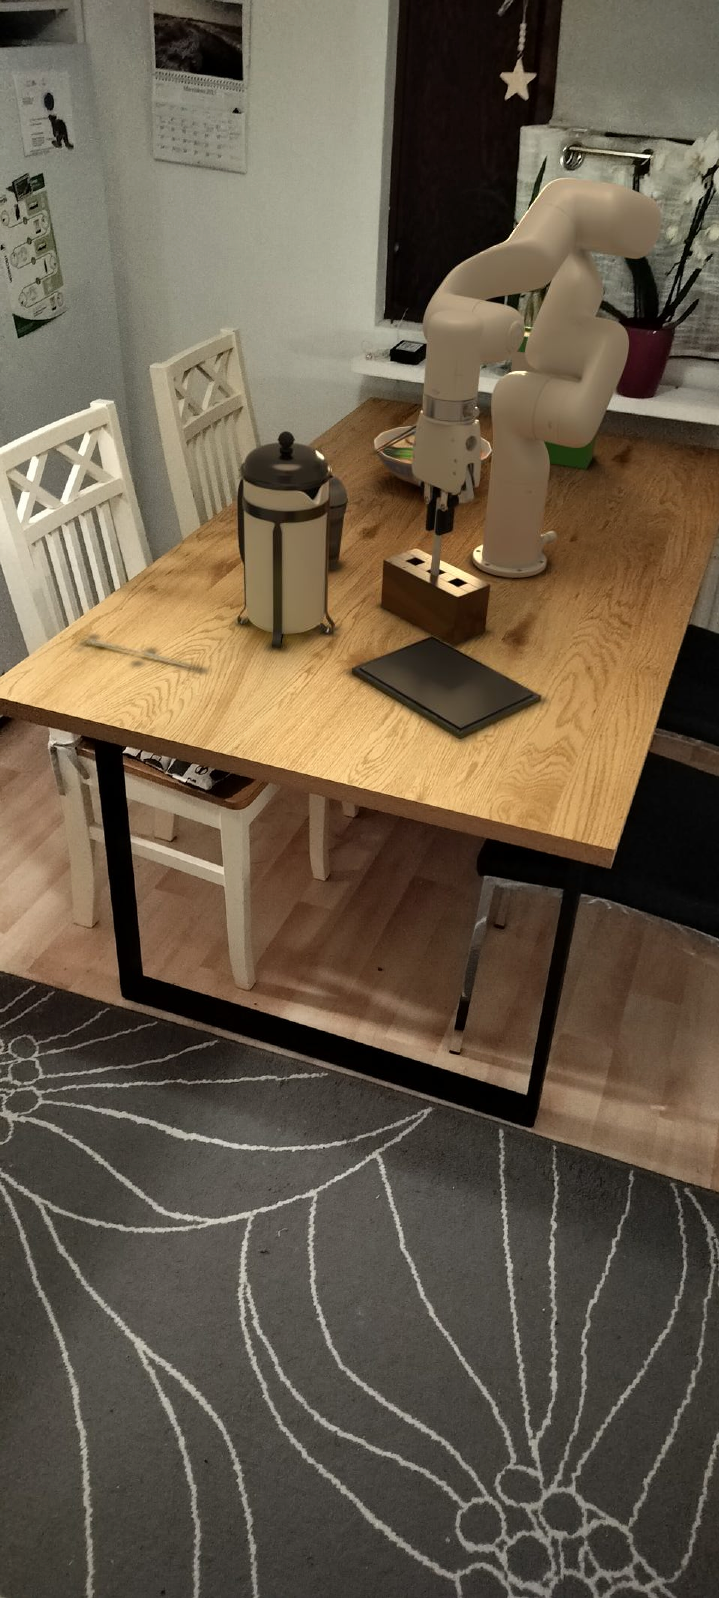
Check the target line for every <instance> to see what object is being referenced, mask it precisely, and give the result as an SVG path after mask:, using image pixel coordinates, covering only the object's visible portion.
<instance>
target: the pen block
mask: <svg viewBox="0 0 719 1598" xmlns="http://www.w3.org/2000/svg"><path fill="white" fill-rule="evenodd" d="M382 561H383V562H382V580H381V599H380V607H381V608H383V609H385V610H387V611H389V612H391V613H392V614H394V615H396V616H398V617H400V618H402V619H404V620H405V621H407V622H409V623H411V624H413V625H415V626H416V627H418V628H420V629H422V630H424V631H425V632H427V633H430V634H431V635H433V636H435V637H436V638H437V639H439V640H440V639H441V641H444V642H445V643H447V644H448V645H449V644H450V646H455V645H458V644H461V643H462V642H464V641H468V640H470V639H472V638H475V637H477V636H480V635H482V634H484V633H486V630H487V620H488V610H489V602H490V595H491V593H490V592H491V584H490V583H488V582H486V581H485V580H482V579H480V578H478V577H476V576H474V575H472V574H470V573H468V572H466V571H464V570H462V569H460V568H457V567H455V566H453V565H451V564H450V563H447V562H445V561H443V560H441V559H440V568H439V575H438V576H434V575H432V574H430V573H431V561H432V554H430V553H426V552H425V551H423V550H420V549H418V548H413V549H410V550H407V551H404V552H401V553H399V554H395V555H393V556H389V557H386V558H384V559H383V560H382Z"/></svg>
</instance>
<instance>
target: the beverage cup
mask: <svg viewBox="0 0 719 1598" xmlns="http://www.w3.org/2000/svg"><path fill="white" fill-rule="evenodd" d="M317 450H318V451H319V452H321V453H322V454H323V452H322V451H323V450H322V447H318V448H317ZM328 491H329V493H330V510H329V516H330V519H329V562H328V572H331V571H335V570H337V568H338V567H339V559H340V554H341V546H342V538H343V531H344V530H343V529H344V521H345V520H344V519H345V515H346V513H347V512H346V511H347V506H348V504H349V498H348V491H347V489H346V486H345V484H344V483H343V482H342V480H341V479H340V478H339V477H338V476H336V475H334V474H332V476H331V478H330V480H329V489H328Z"/></svg>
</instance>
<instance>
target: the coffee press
mask: <svg viewBox="0 0 719 1598" xmlns="http://www.w3.org/2000/svg"><path fill="white" fill-rule="evenodd" d="M277 441H278V442H272V443H266V444H263V445H260V446H258V447H255V448H254V449H253V450H251V451H250V452H249V453H248V454H247V455H246V457H245V459H244V461H243V462H242V463H241V465H240V469H239V471H240V473H239V474H240V476H241V479H240V481H239V484H238V487H237V497H236V498H237V540H238V541H237V542H238V551H239V554H240V559H241V562H242V565H243V585H244V586H243V588H244V589H243V590H244V591H243V592H244V607H243V609H242V610H241V611H240V612H239V614H238V616H237V619H236V620H237V623H238V624H240V625H246V624H247V623H248V622H251V623H252V624H253V625H254V626H255V627H257V628H258V629H261V630H263V631H265V632H269V633H272V636H271V648H273V649H282V647H283V641H284V636H285V635H292V634H300V633H304V632H307V631H310V630H312V629H315V628H316V627H319V628H320V629H321V630H322V631H323V632H325V633H326V634H332V633H333V632H334V630H335V627H336V623H335V622H334V621H333V619H332V617H330V615H329V609H328V608H329V605H328V603H329V602H328V601H329V571H328V562H329V519H330V516H329V510H330V493H329V491H328V489H329V480H330V478H331V476H332V475H333V472H332V471H333V470H332V466H331V465H330V463H329V462H328V459H327V457H325V455H324V454H323V452H322V453H321V452H319V451H318V449H316V448H314V447H312V446H310V445H307V444H302V443H298V442H297V443H296V442H295V441H296V439H295V437H294V435H293V434H292V432H290V431H287V430H285V431H282V432H281V433H279V435H278V438H277ZM245 609H246V615H247V616H246V617H247V618H246V619H243V618H242V617H241V615H242V614H243V613H244V611H245ZM324 618H325V619H326V621H327V623H328V624H329V625H330V626H331V627H330V628H329V627H327V626H326V625H325V624H324V623H323V620H324Z"/></svg>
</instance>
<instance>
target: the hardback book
mask: <svg viewBox="0 0 719 1598" xmlns="http://www.w3.org/2000/svg"><path fill="white" fill-rule="evenodd" d="M532 327H533V326H526V325H525V335H524V339H523V342H522V344H521V346H520V348H519V349H518V351H517V352H516V353H515V354H514V355H513V356H512V357H511V367H510V373H511V372H516V371H526V372H533V373H537V374H542V375H547V376H552V377H556V378H558V379H563V380H568V381H573V382H577V383H579V382H580V381H579V380H575V379H570V378H565V377H561V376H556V375H552V374H548V373H544V372H541V371H539V370H536V369H535V368H533V367H531V366H530V365H529V364H528V362H527V360H526V357H525V348H526V343H527V340H528V337H529V334H530V332H531V329H532ZM597 433H598V431H597V432H596V434H595V436H594V437H593V439H592V440H591V441H590V443H588V444H587V445H586V446H584V447H581V448H571V447H566V446H562V445H557V444H553V443H549V442H545V441H544V443H545V446H546V449H547V451H548V455H549V460H550V465H558V466H565V467H572V468H579V469H585V470H587V469H588V467H589V465H590V463H591V461H592V460H593V458H594V451H595V445H596V440H597Z"/></svg>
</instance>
